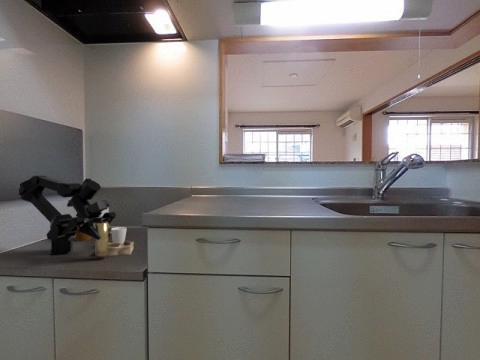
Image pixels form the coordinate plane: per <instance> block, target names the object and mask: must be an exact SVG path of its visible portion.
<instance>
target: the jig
mask: <svg viewBox="0 0 480 360" xmlns="http://www.w3.org/2000/svg"><path fill="white" fill-rule="evenodd" d="M134 243H135V242H134V241H131V240H125V241H124V242H116V243H113V242H108V254H107V255H104V256H103V257H109V256H126V255H127V256H128V255H132V253H133V251H134V248H135V247H134Z"/></svg>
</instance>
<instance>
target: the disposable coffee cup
mask: <svg viewBox="0 0 480 360" xmlns="http://www.w3.org/2000/svg"><path fill="white" fill-rule="evenodd" d="M74 217H77V216H76V215H74V216H73V218H74ZM79 230H80V228H79V226H77V231H76V234H75V239H76V241H77V242H87V241H90V240H92V237H91V236H89V235H87V234H84V233H82V232H78V231H79Z"/></svg>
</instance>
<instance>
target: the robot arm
mask: <svg viewBox="0 0 480 360" xmlns="http://www.w3.org/2000/svg"><path fill="white" fill-rule="evenodd" d="M19 185H20V189H19V195H21V197H20V198H19V199H20V200H23V201H25V202H29V203H31V205H32V206H34V207H35V209H37V211H38V212H39V213H40V214H42V216H43V217H44V218H45V219H46V220H47V221H48V222H49V223H50V225H49V230H48V232H47V233H46V239H47V240H51V241H50V243H51V246H50V249H51V250H50V251H51V252H49V253H48V254H49V255H52V256H53V255H68V254H69V253H70V252H71V251H73V249H74V247H73V246H74V245H73V244H74V241H73V240H72V237H76V231H77V226H79V228H80V230H79V231H78V232H82V233H84V234H87V235H89V236H91V238H93V239H97V240H99V239H100V236H99V234H98V232H97V231H96V229H95V228H94V226H93V223H96V222H108V224H109V225H108V238H110V237H111V233H110V231H111V229H110V224H111V223H112V222H113V221H114V219H116V217H117V214H116V213H115V211H109V212H107V213H105V214H104V215H103V216H102V217H99V215H101V214H102V212H101V211H103V210H105V209H108V207H110V203H109V202H108V200H107V199H105V200H104V199H103V200H102V201H96V202H94V203H93V202H92V204H91V202H90V200H93V199H94V198H95V196H96V195H97V194H98V193H99V192H100V190H101V185H100V183H98V182H96V181H95V180H92V179H91V178H85V179H84V180H83V182H82V183H80V182H68V181H67V182H66V181H65V182H64V181H62V180H58V179H55V178H52V177H48V176H46V175H34V176H33V175H32V176H31V178H29V179H27V180H25V181H22V182H21V183H20V184H19ZM46 189H49V190H52V191H54V192H56V194H57V195H58V196H60V197H62V198H64V199H65V198H70V199H68V200H67V204H66V207H68V208H71V207H72V208H73V209H74V211H75V212H76V214H75V216H77V217H74V216H72V215H71V214H70V213H66V214H65V213H64V214H62V213H61V212H60V211H59V210H58V209H57V208H56V207H55V206H54V205H53V204H52V203H51V202H50V201H49V200H48V199H47V198H46V197H45V196H44V195H43V194H44V191H45V190H46Z"/></svg>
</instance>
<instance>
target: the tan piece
mask: <svg viewBox="0 0 480 360" xmlns="http://www.w3.org/2000/svg"><path fill="white" fill-rule="evenodd" d="M95 229H96V231H97V232H98V234H99V236H100V239H99V240H97V239H95V238H94V239H95V241H94V242H95V243H94V247H95V249H94V252H95V253H94V255H95V257H105V256H104V255H107V254H108V243H109V237H108V222H96V224H95Z"/></svg>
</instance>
